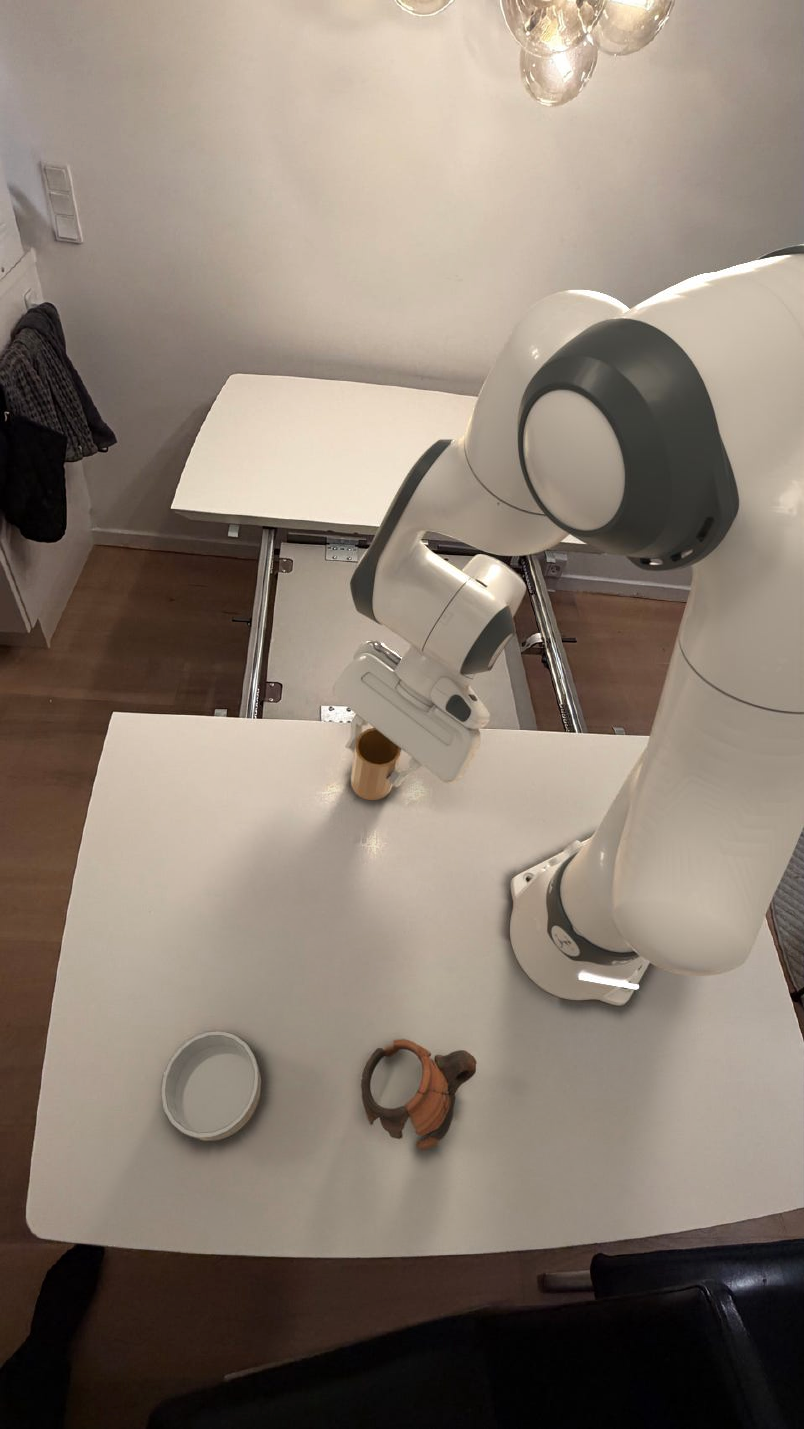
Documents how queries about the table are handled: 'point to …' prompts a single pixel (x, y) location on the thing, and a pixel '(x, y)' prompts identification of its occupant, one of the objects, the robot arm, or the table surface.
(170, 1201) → the table surface
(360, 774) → the tan hollow cylinder
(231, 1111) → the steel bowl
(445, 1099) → the pottery mug
